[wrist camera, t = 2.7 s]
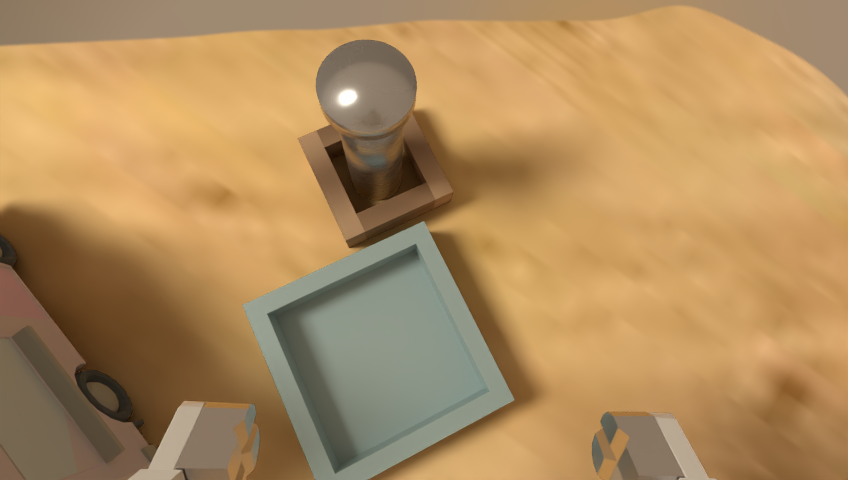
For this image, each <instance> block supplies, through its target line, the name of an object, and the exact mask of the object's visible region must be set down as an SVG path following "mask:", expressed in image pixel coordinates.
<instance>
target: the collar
mask: <svg viewBox="0 0 848 480" xmlns="http://www.w3.org/2000/svg"><path fill="white" fill-rule="evenodd" d="M298 140H299V142H300V144H301V146H302V149H303V151H304V153H305V155H306V157H307V159H308V161H309V164H310V166H311V168H312V170H313V172H314V174H315V176H316V178H317V181H318V183H319V185H320V187H321V189H322V191H323V193H324V195H325V198H326V200H327V202H328V204H329V206H330V208H331V210H332V212H333V215H334V217H335V219H336V221H337V223H338V225H339V227H340V229H341V232H342V234H343V236H344V238H345V240H346V242H347V244H348V246H349V248H350V247H352V246H354V245H356V244H359V243H361V242H363V241H365V240H367V239H369V238H372V237H374V236H376V235H378V234H380V233H382V232H385V231H387V230H389V229H391V228H393V227H395V226H398V225H400V224H402V223H404V222H406V221H408V220H411V219H413V218H415V217H417V216H419V215H422V214H424V213H426V212H428V211H430V210H432V209H435V208H437V207H439V206H441V205H443V204H445V203H448V202H450V200H451V197H452V194H453V189H452V188H451V186H450V184H449V182H448V180H447V178H446V176H445V174H444V172H443V171H442V169H441V167H440V165H439V163H438V161H437V159H436V157H435V155H434V153H433V152H432V150H431V148H430V146H429V144H428V142H427V140H426V138H425V136H424V134H423V133H422V131H421V129H420V127H419V125H418V123H417V121H416V119H415V117H414V115H413V114H412V115H411V117H410V119H409V120H408V122H407V123H406V124H405V125H404V126H403V152H404V154H405V156H406V158H407V159H408V161H409V163H410V165H411V167H412V169H413V171H414V173H415V175H416V177H417V179H418V181H419V183H420V185H419V186H417V187H415V188H413V189H410V190H408V191H406V192H404V193H402V194H399V195H397V196H395V197H393V198H390V199H388V200H386V201H384V202H382V203H379V204H377V205H375V206H373V207H370V208H368V209H366V210H364V211H362V212H359V213H357V214H356V212H355V210H354V208H353V206H352V204H351V202H350V200H349V198H348V196H347V194H346V191H345V189H344V187H343V185H342V183H341V181H340V179H339V177H338V175H337V173H336V171H335V169H334V166H333V164H332V162H331V159H333V158H335V157H338V156H340V155H342V154H345V152H344V148H343V144H342V141H341V137H340V133H339V131H337V130H336V129H335V128H334V127H333V126H331V125H329V126H326V127H324V128H321V129H319V130H317V131H314V132H312V133H309V134H307V135H305V136H302V137H300V138H298Z"/></svg>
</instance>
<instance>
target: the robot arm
mask: <svg viewBox="0 0 848 480" xmlns="http://www.w3.org/2000/svg"><path fill="white" fill-rule="evenodd" d="M255 416H256V410H255V406H254V404H244V403H224V402H204V401H184V402H183V403H182V404H181V405H180V406H179V407H178V409H177V411H176V413H175V415H174V417H173V419H172V421H171V423H170V425H169V427H168V429H167V431H166V433H165V435H164V437H163V439H162V441H161V443H160V445H159V447H158V449H157V452H156V454H155V456H154V458H153V460H152V462H151V464H150V466H149V468H148V469H140V470H139V471H138V472H136V473H135V474H134V475H133V476H131V477H130V478H129V479H128V480H247V478H246V476H247V475H248V474H250V473H251V472H252V471H253V470H254V468H255V464H256V461H257V457H258V451H259V444H260V432H259V426H258V425H256V424H255V423H254V419H255ZM600 422H601V424H602V427H603V429H601V430H600V431H598V432H597V433H596V434H595V436H594V439H593V442H592V457H593V463H594V466H595V469H596V472H597V475H598V476H599V477H600V478H601V479H602V480H717V479H716V478H709V477H708V475H707V473H706V471H705V470H704V468H703V466H702V464H701V462H700V461H699V459H698V457H697V455H696V454H695V452H694V450H693V448H692V446H691V445H690V443H689V441H688V439H687V438H686V436H685V434H684V432H683V430H682V429H681V427H680V425H679V423H678V422H677V420H676V418H675V417H674V416H673V415H672V414H671V413H647V412H606V413H605V414H603V417H602V419H601V421H600Z"/></svg>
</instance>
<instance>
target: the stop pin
mask: <svg viewBox="0 0 848 480" xmlns="http://www.w3.org/2000/svg"><path fill="white" fill-rule="evenodd" d="M416 90H417V82H416V76H415V72H414V70H413V67H412V65H411V64H410V62H409V60H408V59H407V58H406V57H405V56H404V55H403V54H402V53H401V52H400V51H399V50H397V49H396V48H394V47H392V46H391V45H388V44H386V43H383V42H380V41H375V40H357V41H352V42H349V43H346V44H344V45H341V46H339V47H338V48H336V49H335V50H333V51H332V52H331V53H330V54H329V55H328V56H327V57H326V58H325V59H324V61H323V62H322V64H321V66H320V68H319V70H318V73H317V78H316V92H317V96H318V99H319V103H320V106H321V109H322V112H323V114H324V116H325V118H326V119H327V121H328V122H329V123H330V125H331V126H333V127H334V128H335V129H336V130H337V131H339V133H340V137H341V141H342V144H343V148H344V152H345V156H346V160H347V164H348V168H349V172H350V176H351V179H352V183H353V186H354V188H355V190H356V191H357V192H358V193H359V194H360V195H361V196H363V197H364V198H367V199H370V200H384V199H387V198H389V197H390V196H392V195H393V194H394V193H395V192H396V191H397V190H398V188H399V186H400V184H401V179H402V152H403V126H404V125H405V124H406V123H407V122H408V120H409V119H410V117H411V115H412V113H413V110H414V107H415V101H416Z"/></svg>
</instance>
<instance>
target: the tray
mask: <svg viewBox="0 0 848 480" xmlns="http://www.w3.org/2000/svg"><path fill="white" fill-rule="evenodd" d="M243 308H244V310H245V313H246V315H247V317H248V320H249V322H250V325H251V327H252V329H253V332H254V334H255V337H256V339H257V341H258V344H259V346H260V349H261V351H262V353H263V356H264V358H265V361H266V363H267V365H268V368H269V370H270V373H271V375H272V377H273V380H274V382H275V385H276V387H277V389H278V392H279V394H280V397H281V399H282V401H283V404H284V406H285V409H286V411H287V413H288V416H289V418H290V421H291V423H292V426H293V428H294V430H295V433H296V435H297V438H298V440H299V442H300V445H301V447H302V450H303V452H304V454H305V457H306V459H307V462H308V464H309V466H310V469H311V471H312V474H313V476H314V478H315V480H368V479H370V478H372V477H374V476H376V475H377V474H379V473H381V472H383V471H385V470H387V469H388V468H390V467H392V466H394V465H396V464H398V463H400V462H401V461H403V460H405V459H407V458H409V457H411V456H412V455H414V454H416V453H418V452H420V451H422V450H423V449H425V448H427V447H429V446H431V445H433V444H435V443H436V442H438V441H440V440H442V439H444V438H446V437H447V436H449V435H451V434H453V433H455V432H457V431H459V430H460V429H462V428H464V427H466V426H468V425H470V424H471V423H473V422H475V421H477V420H479V419H481V418H482V417H484V416H486V415H488V414H490V413H492V412H494V411H495V410H497V409H499V408H501V407H503V406H505V405H506V404H508V403H510V402H512V401H514V400H515V399H514V398H513V396H512V394H511V392H510V390H509V388H508V386H507V384H506V382H505V380H504V378H503V376H502V374H501V372H500V370H499V368H498V366H497V364H496V362H495V360H494V358H493V356H492V354H491V352H490V350H489V348H488V346H487V344H486V342H485V340H484V338H483V336H482V334H481V332H480V331H479V329H478V327H477V325H476V323H475V321H474V319H473V317H472V315H471V313H470V311H469V309H468V307H467V305H466V303H465V301H464V299H463V297H462V295H461V293H460V291H459V289H458V287H457V285H456V283H455V281H454V279H453V277H452V275H451V273H450V271H449V269H448V267H447V265H446V264H445V262H444V260H443V258H442V256H441V254H440V252H439V250H438V248H437V246H436V244H435V242H434V240H433V238H432V236H431V234H430V232H429V230H428V228H427V226H426V224H425V222H424V221H423V222H421V223H419V224H416V225H414V226H412V227H410V228H408V229H406V230H403V231H401V232H399V233H397V234H395V235H393V236H391V237H388V238H386V239H384V240H382V241H380V242H378V243H375V244H373V245H371V246H369V247H367V248H365V249H362V250H360V251H358V252H356V253H354V254H352V255H350V256H347V257H345V258H343V259H341V260H339V261H337V262H334V263H332V264H330V265H328V266H326V267H324V268H321V269H319V270H317V271H315V272H313V273H311V274H308V275H306V276H304V277H302V278H300V279H298V280H296V281H293V282H291V283H289V284H287V285H285V286H283V287H280V288H278V289H276V290H274V291H272V292H270V293H267V294H265V295H263V296H261V297H259V298H257V299H255V300H252V301H250V302H248V303H246V304H244V305H243Z"/></svg>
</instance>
